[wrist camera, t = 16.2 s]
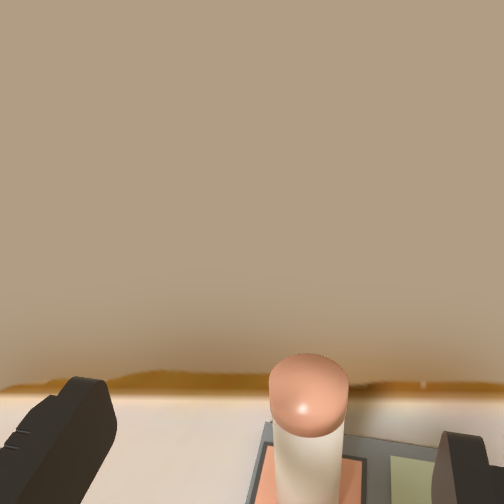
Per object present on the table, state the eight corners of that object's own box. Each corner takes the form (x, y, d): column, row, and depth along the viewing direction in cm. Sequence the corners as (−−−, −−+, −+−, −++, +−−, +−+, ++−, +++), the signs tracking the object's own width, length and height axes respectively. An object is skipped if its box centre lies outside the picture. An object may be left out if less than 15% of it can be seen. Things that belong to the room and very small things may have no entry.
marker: (341, 483, 36) (351, 358, 29) (336, 547, 32) (345, 420, 25) (281, 472, 37) (277, 349, 30) (269, 532, 33) (261, 407, 26)
